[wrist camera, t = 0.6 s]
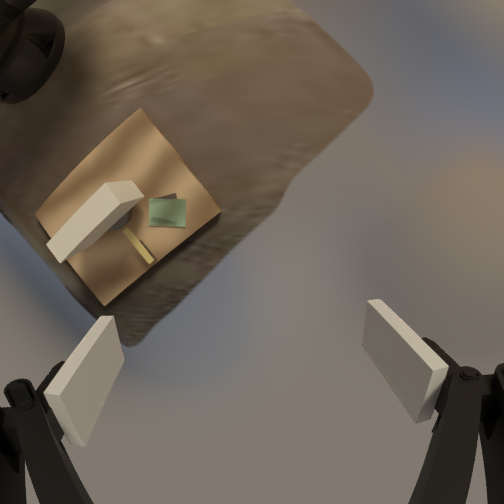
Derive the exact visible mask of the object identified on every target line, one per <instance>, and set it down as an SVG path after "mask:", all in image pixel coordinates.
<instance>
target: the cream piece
mask: <svg viewBox="0 0 504 504" xmlns="http://www.w3.org/2000/svg"><path fill="white" fill-rule="evenodd" d="M144 197H145V196H144V195H143V194H142V193H141V191H140V190H139V189H138V187H137V186H136V185H135V183H134V182H133V181H132V180H129V181H118V182H108V183H104V184H103V185H102V186H101V187H100V188H99V189H98V190H97V191H96V192H95V193H94V194H93V195H92V196H91V197H90V198H89V199H88V200H87V201H86V202H85V203H84V204H83V205H82V206H81V207H80V208H79V209H78V210H77V211H76V212H75V213H74V215H73V216H72V217H71V218H70V219H69V220H68V221H67V222H66V223H65V224H64V225H63V226H62V227H61V229H60V230H59V231H58V232H57V233H56V234H55V235H54V236H53V237H52V239H51V240H50V241H49V242H48V243H47V244H46V245H47V246H48V248H49V249H50V250H51V252H52V253H53V254H54V256H55V257H56V259H57V260H58V261H59V263H62V262H63V261H65V260H67V259H69V258H70V257H72V256H74V255H75V254H77V253H79V252H81V251H82V250H84V249H86V248H88V247H90V246H91V245H93V244H94V243H95V242H96V241H97V240H98V239H99V238H100V237H101V236H102V235H103V234H104V233H105V232H106V231H107V230H108V231H114V230H117V229H119V228H121V227H123V226H125V225H126V224H127V223H128V222H129V220H130V218H131V208H132V207H133V206H134V205H136V204H137V203H138V202H139V201H140V200H141V199H142V198H144ZM123 232H124V234H125V235H126V236H127V237H128V239H129V240H130V241H131V242H132V244H133V245H134V246H135V248H136V249H137V250H138V251H139V252H140V254H141V255H142V256H143V257H144V259H145V260H146V261H147V262H148V264H150V263H151V262H153V261H154V259H153V257H152V256H151V255H150V254H149V252H148V251H147V250H146V249H145V248H144V246H143V245H142V244H141V243H140V241H139V240H138V239H137V238H136V236H135V235H134V234H133V232H132V231H131V230H130V229H129V227H127V228H126V229H125V230H124V231H123Z"/></svg>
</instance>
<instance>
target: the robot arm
mask: <svg viewBox="0 0 504 504" xmlns="http://www.w3.org/2000/svg"><path fill="white" fill-rule="evenodd" d="M35 1H37V0H0V102H3V103H8V104H12V103H17V102H20V101H22V100H24V99H26V98H28V97H29V96H31V95H32V94H34V93H35V92H36V91H37V90H38V89H39V88H40V87H41V86H42V85H43V84H44V83H45V82H46V80H47V79H48V78H49V76H50V75H51V74H52V72H53V70H54V69H55V67H56V65H57V63H58V61H59V59H60V56H61V53H62V50H63V46H64V41H65V31H64V27H63V24H62V22H61V21H60V19H59V18H57V17H56V16H55V15H54V14H52V13H51V12H49V11H47V10H44V9H37V8H30V7H29V6H31V5H32V4H33V3H34V2H35ZM362 346H363V348H364V349H365V351H366V352H367V353H368V355H369V356H370V358H371V359H372V361H373V362H374V363H375V365H376V366H377V368H378V369H379V371H380V372H381V374H382V375H383V377H384V378H385V379H386V381H387V382H388V384H389V385H390V387H391V388H392V389H393V391H394V393H395V394H396V395H397V397H398V398H399V400H400V401H401V403H402V404H403V406H404V407H405V409H406V410H407V412H408V413H409V415H410V416H411V418H412V419H413V421H414V422H415V424H417V423H419V422H423V421H426V420H429V419H431V416H432V414H433V411H434V409H436V411H437V412H438V413H439V415H438V418H437V420H436V423H435V425H434V427H433V430H432V432H433V435H432V438H431V442H430V445H429V448H428V451H427V454H426V458H425V461H424V464H423V466H422V469H421V472H420V475H419V478H418V480H417V483H416V486H415V488H414V491H413V493H412V496H411V498H410V501H409V503H408V504H465V503H466V499H467V495H468V491H469V486H470V481H471V477H472V472H473V466H474V461H475V455H476V448H477V440H478V433H479V435H480V441H481V447H482V454H483V461H484V468H485V476H486V487H487V500H488V504H504V363H502V364H499V365H498V366H497V368H496V369H495V373H494V374H491V375H482V374H481V373H480V372H479V371H478V370H476V369H475V368H472V367H467V366H464V367H460V366H459V365H458V364H457V363H456V362H455V361H454V360H453V359H452V358H451V357H450V356H449V355H448V354H447V353H445V352H444V350H443V349H440V347H439V346H438V345H437V344H436V343H435V342H434V341H432V340H430V339H428V338H426V337H425V338H420V337H419V336H418V335H417V334H416V333H415V332H414V331H413V330H412V329H411V328H410V327H409V326H408V325H407V324H406V323H405V322H404V321H403V320H401V319H400V318H399V317H398V316H397V315H396V314H395V313H394V312H393V311H392V310H391V309H390V308H389V307H388V306H387V305H386V304H385V303H384V302H383V301H381V300H380V299H376V300H368V301H367V306H366V316H365V325H364V333H363V341H362ZM123 363H124V357H123V353H122V349H121V345H120V341H119V337H118V333H117V329H116V325H115V320H114V316H100V317H99V319H98V320H97V321H96V323H95V324H94V325H93V326H92V328H91V329H90V330H89V332H88V333H87V334H86V335H85V337H84V338H83V339H82V341H81V342H80V343H79V345H78V346H77V347H76V349H75V350H74V351H73V353H72V354H71V355H70V357H69V358H68V359H67V361H61V362H60V363H58V364H57V365H55V366H54V367H53V368H52V369H51V371H50V372H49V375H47V376H46V378H45V380H43V382H42V383H41V384H40V386H39V387H38V388H37V390H36V391H35V389H34V387H33V385H32V383H31V382H30V381H29V380H27V379H17V380H14V381H12V382H10V383H9V384H8V385H7V386H6V387H5V389H4V394H5V396H6V398H7V400H8V402H9V404H10V406H11V407H4V408H1V407H0V504H27V502H26V488H25V462H26V466H27V469H28V472H29V475H30V478H31V481H32V484H33V487H34V489H35V492H36V495H37V497H38V500H39V503H40V504H94V503H93V502H92V500H91V498H90V497H89V495H88V493H87V491H86V489H85V488H84V486H83V484H82V482H81V480H80V478H79V476H78V474H77V472H76V471H75V468H74V466H73V464H72V463H71V460H70V458H69V456H68V454H67V452H66V450H65V447H64V445H63V444H62V442H61V439H62V437H63V435H65V437H66V439H67V440H68V442H69V443H70V444H73V445H79V446H84V447H85V446H86V443H87V441H88V439H89V436H90V434H91V432H92V429H93V427H94V425H95V422H96V420H97V418H98V416H99V414H100V411H101V409H102V407H103V405H104V403H105V400H106V398H107V396H108V394H109V392H110V390H111V388H112V385H113V383H114V381H115V379H116V377H117V375H118V373H119V371H120V369H121V366H122V365H123Z"/></svg>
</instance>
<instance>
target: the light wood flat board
mask: <svg viewBox="0 0 504 504" xmlns="http://www.w3.org/2000/svg"><path fill="white" fill-rule="evenodd" d="M129 180H132V181H133V182H134V183H135V185H136V186H137V187H138V189H139V190H140V191H141V193H142V194H143V195H144V196H145V197H144V198H142V199H141V200H140V201H139V202H138V203H137V204H136V205H134V206H133V207H132V208H131V218H130V220H129V222H128V223H127V224H126V225H125V226H123V227H121V228H119V229H117V230H114V231H108V230H107V231H106V232H105V233H104V234H103V235H102V236H101V237H100V238H99V239H98V240H97V241H96V242H95V243H94V244H93V245H91V246H90V247H88V248H86V249H84V250H82V251H81V252H79V253H77V254H75V255H74V256H72V257H70V258H69V259H67V261H68V262H69V263H70V265H71V266H72V267H73V269H74V270H75V271H76V272H77V274H78V275H79V276H80V277H81V279H82V280H83V281H84V282H85V284H86V285H87V286H88V287H89V289H90V290H91V291H92V292H93V294H94V295H95V296H96V297H97V298H98V300H99V301H100V302H101V303H102V304H103V305H104V306H106V305H107V304H108V303H109V302H110V301H111V300H113V299H114V298H115V297H116V296H117V295H118V294H120V293H121V292H122V291H123V290H124V289H126V288H127V287H128V286H129V285H130V284H131V283H133V282H134V281H135V280H136V279H137V278H139V277H140V276H141V275H142V274H143V273H145V272H146V271H147V270H148V269H150V268H151V267H152V266H153V265H154V264H156V263H157V262H158V261H159V260H160V259H162V258H163V257H164V256H165V255H167V254H168V253H169V252H170V251H172V250H173V249H174V248H175V247H177V246H178V245H179V244H180V243H182V242H183V241H184V240H185V239H187V238H188V237H189V236H190V235H192V234H193V233H194V232H195V231H197V230H198V229H199V228H200V227H202V226H203V225H204V224H206V223H207V222H208V221H209V220H211V219H212V218H213V217H215V216H216V215H217V214H218V213H220V212H221V209H220V207H219V206H218V205H217V204H216V202H215V201H214V200H213V198H212V197H211V196H210V195H209V193H208V192H207V191H206V189H205V188H204V187H203V186H202V184H201V183H200V182H199V181H198V179H197V178H196V177H195V175H194V174H193V173H192V172H191V170H190V169H189V168H188V166H187V165H186V164H185V163H184V161H183V160H182V159H181V157H180V156H179V155H178V154H177V152H176V151H175V150H174V148H173V147H172V146H171V145H170V143H169V142H168V141H167V140H166V138H165V137H164V136H163V134H162V133H161V132H160V131H159V129H158V128H157V127H156V125H155V124H154V123H153V122H152V120H151V119H150V118H149V116H148V115H147V114H146V113H145V111H144V110H143V109H141V108H139V109H138V110H137V111H136V112H135V113H133V114H132V115H131V116H130V117H129V118H128V119H126V120H125V121H124V122H123V123H122V124H121V125H120V126H118V127H117V128H116V129H115V130H114V131H113V132H112V133H111V134H110V135H109V136H107V137H106V138H105V139H104V140H103V141H102V142H101V143H100V144H99V145H98V146H97V147H96V148H95V149H94V150H93V151H92V152H91V153H90V154H89V155H88V156H87V157H86V158H85V159H84V160H83V161H82V162H81V163H80V164H79V165H78V166H77V167H76V168H75V169H74V170H73V171H72V172H71V173H70V174H69V175H68V176H67V177H66V179H65V180H64V181H63V182H62V183H61V184H60V185H59V186H58V187H57V188H56V190H55V191H54V192H53V193H52V194H51V195H50V196H49V198H48V199H47V200H46V201H45V202H44V203H43V205H42V206H41V207H40V208H39V209H38V211H37V212H36V213H35V215H36V217H37V219H38V220H39V221H40V223H41V224H42V226H43V227H44V229H45V230H46V232H47V233H48V235H49V236H50V237H51V239H52V237H53V236H54V235H55V234H56V233H57V232H58V231H59V230H60V229H61V227H62V226H63V225H64V224H65V223H66V222H67V221H68V220H69V219H70V218H71V217H72V216H73V215H74V213H75V212H76V211H77V210H78V209H79V208H80V207H81V206H82V205H83V204H84V203H85V202H86V201H87V200H88V199H89V198H90V197H91V196H92V195H93V194H94V193H95V192H96V191H97V190H98V189H99V188H100V187H101V186H102V185H103V184H104V183H108V182H118V181H129ZM127 227H129V229H130V230H131V231H132V232H133V234H134V235H135V236H136V238H137V239H138V240H139V241H140V243H141V244H142V245H143V246H144V248H145V249H146V250H147V251H148V252H149V254H150V255H151V256H152V257H153V259H154V261H153V262H151V263H150V264H148V262H147V261H146V260H145V259H144V257H143V256H142V255H141V254H140V252H139V251H138V250H137V249H136V248H135V246H134V245H133V244H132V242H131V241H130V240H129V239H128V237H127V236H126V235H125V234H124V232H123V231H124V230H125V229H126V228H127Z"/></svg>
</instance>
